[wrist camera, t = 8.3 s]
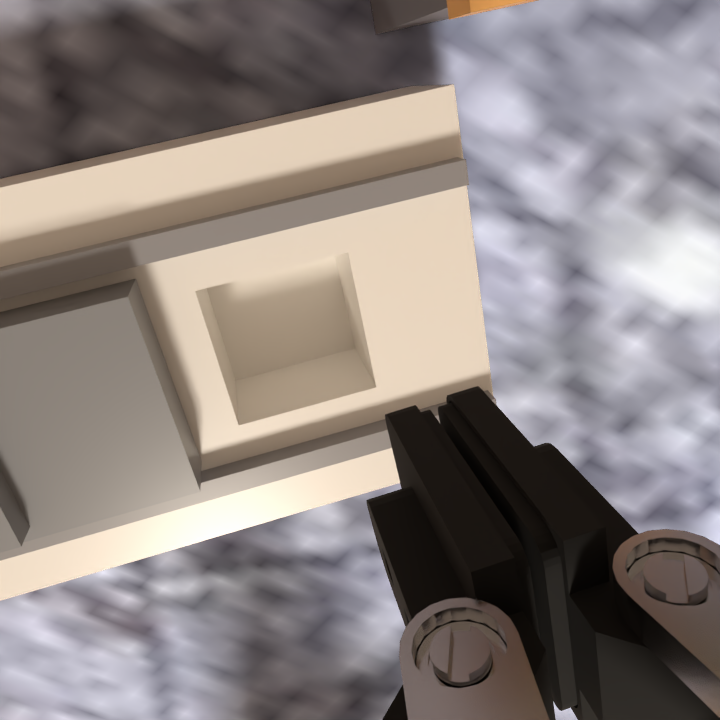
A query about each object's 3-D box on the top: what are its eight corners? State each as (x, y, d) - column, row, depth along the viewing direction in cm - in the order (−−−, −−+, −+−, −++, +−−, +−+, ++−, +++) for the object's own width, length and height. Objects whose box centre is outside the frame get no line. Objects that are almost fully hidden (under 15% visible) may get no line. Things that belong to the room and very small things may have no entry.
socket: (410, 86, 25) (462, 84, 19) (458, 399, 30) (508, 463, 25) (-130, 208, 23) (-235, 243, 17) (32, 520, 28) (-10, 617, 23)
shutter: (135, 278, 20) (123, 307, 18) (201, 460, 23) (199, 509, 20) (-93, 335, 19) (-143, 374, 17) (4, 516, 22) (-25, 574, 20)
